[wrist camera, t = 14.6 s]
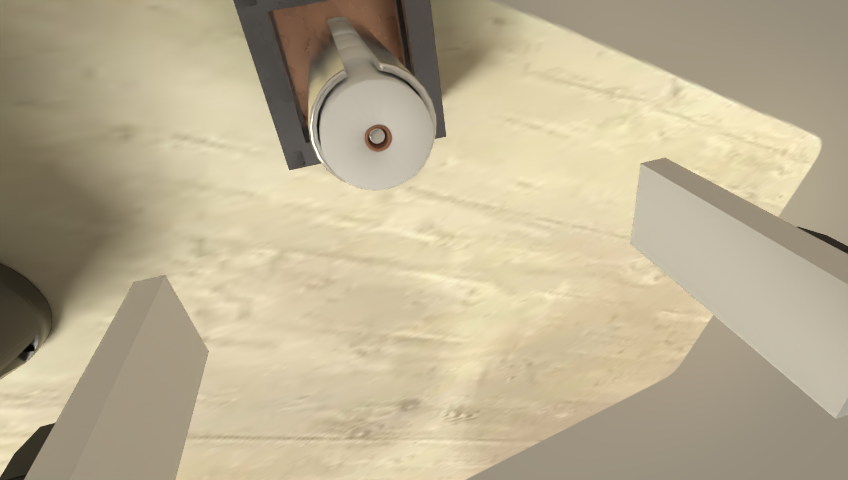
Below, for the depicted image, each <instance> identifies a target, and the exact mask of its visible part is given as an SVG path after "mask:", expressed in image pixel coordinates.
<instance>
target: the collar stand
mask: <svg viewBox="0 0 848 480" xmlns="http://www.w3.org/2000/svg"><path fill="white" fill-rule="evenodd" d="M234 3H235V6H236V9H237V13H238V16H239V19H240V22H241V25H242V28H243V31H244V34H245V37H246V40H247V43H248V46H249V49H250V52H251V55H252V58H253V61H254V64H255V67H256V70H257V73H258V76H259V79H260V83H261V86H262V89H263V92H264V95H265V98H266V101H267V104H268V107H269V110H270V113H271V116H272V119H273V122H274V125H275V128H276V131H277V134H278V137H279V140H280V143H281V146H282V149H283V153H284V156H285V159H286V162H287V165H288V168H289V170H293V169H297V168H302V167H307V166H311V165H316V164H321V162H320V160H319V159H318V158H317V156H316V154H315V151H314V149H313V147H312V144H311V142H310V135H309V128H308V50H309V43H310V39H311V37H312V35H313V32H314V31H315V30H316V29H317V27H318V26H319V25H320V24H322V23H323V22H325V21H326V20H328V19H331V18H334V17H348V18H351V19H355V20H356V21H358V22H360V23H362V24H363V25H364V26H365V27H366V28H367V29H368V30H369V31H370V32H371V33H372V34H373V35H374V36H375V37H376V38H377V39H378V40H379V41H380V42H381V43H382V44H383V45H384V46H385V47H386V48H387V49H388V50H389V51H390V52H391V53H392V54H393V55H394V56H395V57H396V58H397V59H398V60H399V61H400V62H401V63H402V65H403V66H404V67H405V68H406V69H407V70H408V71H409V72H410V73H411V74H412V75H413V76H414V77H415V78H416V79H417V80H418V81H419V82H420V83H421V84H422V85H423V86H424V87H425V89H426V91H427V93H428V94H429V96H430V98H431V100H432V102H433V106H434V110H435V114H436V136H435V139H437V138H441V137H446V131H445V122H444V114H443V105H442V97H441V89H440V80H439V72H438V63H437V55H436V46H435V38H434V29H433V21H432V13H431V4H430V0H234Z"/></svg>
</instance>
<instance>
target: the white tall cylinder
mask: <svg viewBox="0 0 848 480" xmlns="http://www.w3.org/2000/svg"><path fill="white" fill-rule="evenodd" d="M308 128H309V135H310V142H311V144H312V147H313V149H314V151H315V154H316V156H317V158H318V159H319V160H320V162H321V163H322V164H323V165H324V167H325V168H326V169H327V170H328V171H329V172H330V173H332V174H333V175H334V176H336V177H337V178H338V179H340V180H341V181H344V182H346V183H348V184H351V185H353V186H356V187H358V188H361V189H367V190H374V191H376V190H386V189H391V188H393V187H396V186H399V185H401V184H403V183H405V182H406V181H408V180H410V179H411V178H413V177H414V176H415V175H416V174H417V173H418V172H419V171H420V170H421V168H422V167H423V166H424V164H425V162H426V160H427V158H428V157H429V155H430V152H431V149H432V147H433V143H434V139H435V136H436V114H435V110H434V106H433V102H432V100H431V98H430V96H429V94H428V93H427V91H426V89H425V87H424V86H423V85H422V84H421V83H420V82H419V81H418V80H417V79H416V78H415V77H414V76H413V75H412V74H411V73H410V72H409V71H408V70H407V69H406V68H405V67H404V66H403V65H402V63H401V62H400V61H399V60H398V59H397V58H396V57H395V56H394V55H393V54H392V53H391V52H390V51H389V50H388V49H387V48H386V47H385V46H384V45H383V44H382V43H381V42H380V41H379V40H378V39H377V38H376V37H375V36H374V35H373V34H372V33H371V32H370V31H369V30H368V29H367V28H366V27H365V26H364V25H363V24H362V23H360V22H358V21H356V20H355V19H351V18H348V17H334V18H331V19H328V20H326V21H325V22H323V23H322V24H320V25H319V26H318V27H317V29H316V30H315V31H314V32H313V35H312V37H311V39H310V43H309V50H308Z"/></svg>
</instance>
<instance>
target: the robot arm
mask: <svg viewBox="0 0 848 480" xmlns="http://www.w3.org/2000/svg"><path fill="white" fill-rule="evenodd" d="M630 244H631V245H632V246H634V247H635V248H636V249H637V250H638V251H639V252H641V253H642V254H643V255H644V256H645V257H646V258H648V259H649V260H650V261H651V262H652V263H654V264H655V265H656V266H657V267H658V268H659V269H661V270H662V271H663V272H664V273H665V274H666V275H668V276H669V277H670V278H671V279H672V280H673V281H675V282H676V283H677V284H678V285H679V286H681V287H682V288H683V289H684V290H685V291H686V292H688V293H689V294H690V295H691V296H692V297H693V298H695V299H696V300H697V301H698V302H699V303H700V304H702V305H703V306H704V307H705V308H706V309H708V310H709V311H710V312H711V313H712V314H713V315H715V316H716V317H717V318H718V319H719V320H720V321H722V322H723V323H724V324H725V325H726V326H728V327H729V328H730V329H731V330H732V331H733V332H735V333H736V334H737V335H738V336H739V337H740V338H742V339H743V340H744V341H745V342H746V343H747V344H749V345H750V346H751V347H752V348H753V349H755V350H756V351H757V352H758V353H759V354H760V355H762V356H763V357H764V358H765V359H766V360H767V361H769V362H770V363H771V364H772V365H773V366H774V367H776V368H777V369H778V370H779V371H780V372H781V373H783V374H784V375H785V376H786V377H787V378H789V379H790V380H791V381H792V382H793V383H795V384H796V385H797V386H798V387H799V388H800V389H802V390H803V391H804V392H805V393H806V394H807V395H808V396H810V397H811V398H812V399H813V400H814V401H816V402H817V403H818V404H819V405H820V406H821V407H823V408H824V409H825V410H826V411H827V412H828V413H830V414H831V415H832V416H833V417H834V418H836V419H837V418H840V417H843V416H846V415H848V246H846V245H844V244H842V243H840V242H838V241H837V240H835V239H833V238H831V237H829V236H827V235H824V234H820V233H817V232H814V231H810V230H807V229H804V228H800V227H795V226H793V225H792V224H790V223H788V222H786V221H784V220H782V219H780V218H778V217H776V216H775V215H773V214H771V213H769V212H767V211H765V210H763V209H761V208H759V207H758V206H756V205H754V204H752V203H750V202H748V201H746V200H744V199H742V198H740V197H739V196H737V195H735V194H733V193H731V192H729V191H727V190H725V189H723V188H722V187H720V186H718V185H716V184H714V183H712V182H710V181H708V180H706V179H704V178H703V177H701V176H699V175H697V174H695V173H693V172H691V171H689V170H687V169H686V168H684V167H682V166H680V165H678V164H676V163H674V162H672V161H670V160H668V159H667V158H662V159H658V160H653V161H649V162H645V163H641V165H640V172H639V180H638V188H637V196H636V203H635V211H634V219H633V227H632V234H631V242H630ZM51 325H52V317H51V312H50V308H49V306H48V304H47V302H46V300H45V298H44V297H43V295H42V294H41V293H40V292H39V290H38V289H37V288H36V287H35V286H34V285H33V284H32V283H30V282H29V281H28V280H27V279H26V278H24V277H23V276H21V275H20V274H18V273H17V272H15V271H13V270H12V269H10V268H8V267H6V266H4V265H2V264H0V379H2V378H3V377H5V376H6V375H8V374H9V373H11V372H12V371H14V370H15V369H17V368H18V367H20V366H21V365H23V364H24V363H26V362H27V361H28V360H29V359H30V358H31V357H33V355H34V354H35V353H36V352H37V351H38V350H39V348H40V347H41V345H42V344H43V343H44V341H45V340H46V338H47V337H48V335H49V333H50V330H51ZM208 352H209V351H208V349H207V347H206V346H205V344H204V342H203V340H202V339H201V337H200V335H199V333H198V332H197V330H196V328H195V326H194V325H193V323H192V321H191V319H190V318H189V316H188V314H187V312H186V310H185V309H184V307H183V305H182V303H181V302H180V300H179V298H178V296H177V295H176V293H175V291H174V289H173V288H172V286H171V284H170V282H169V281H168V279H167V277H166V275H163V276H159V277H154V278H150V279H146V280H141V281H137V282H134V283H133V285H132V286H131V288H130V290H129V292H128V294H127V295H126V297H125V299H124V301H123V303H122V304H121V306H120V308H119V310H118V312H117V313H116V315H115V317H114V319H113V321H112V322H111V324H110V326H109V328H108V330H107V331H106V333H105V335H104V337H103V339H102V340H101V342H100V344H99V346H98V348H97V349H96V351H95V353H94V355H93V357H92V358H91V360H90V362H89V364H88V366H87V367H86V369H85V371H84V373H83V375H82V376H81V378H80V380H79V382H78V384H77V385H76V387H75V389H74V391H73V393H72V394H71V396H70V398H69V400H68V401H67V403H66V405H65V407H64V409H63V410H62V412H61V414H60V416H59V418H58V419H57V421H56V423H53V424H49V425H46V426H42V427H40V428H39V429H38V430H37V431H36V432H35V433H34V434H33V435H32V436H31V437H30V438H29V439H28V440H27V441H26V442H25V443H24V444H23V446H22V447H21V448H20V449H19V450H18V451H17V452H16V453H15V454H14V456H13V457H12V459H11V460H10V462H9V464H8V465H7V467H6V469H5V470H4V472H3V474H2V475H1V477H0V480H175V479H176V475H177V471H178V467H179V464H180V460H181V456H182V452H183V448H184V444H185V440H186V437H187V433H188V429H189V425H190V421H191V417H192V414H193V410H194V406H195V402H196V398H197V394H198V390H199V387H200V383H201V379H202V375H203V371H204V367H205V364H206V360H207V356H208Z"/></svg>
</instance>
